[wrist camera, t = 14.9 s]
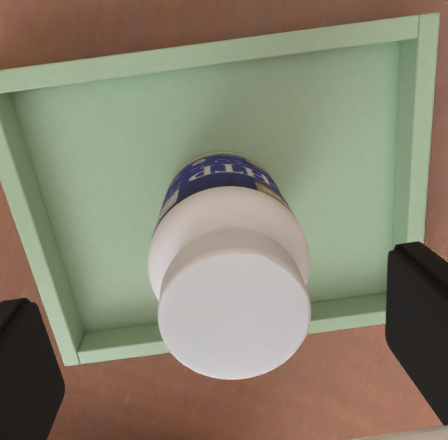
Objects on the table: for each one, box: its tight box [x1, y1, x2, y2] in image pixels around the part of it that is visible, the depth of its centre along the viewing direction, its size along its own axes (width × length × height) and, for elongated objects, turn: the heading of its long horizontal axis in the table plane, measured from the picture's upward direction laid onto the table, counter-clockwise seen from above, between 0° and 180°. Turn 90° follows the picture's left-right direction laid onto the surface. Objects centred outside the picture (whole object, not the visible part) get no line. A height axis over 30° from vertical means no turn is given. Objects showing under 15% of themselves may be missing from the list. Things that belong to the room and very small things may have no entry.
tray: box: [0, 12, 440, 366], centre depth 18 cm, size 18×14×2 cm
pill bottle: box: [148, 152, 311, 380], centre depth 14 cm, size 5×5×9 cm
